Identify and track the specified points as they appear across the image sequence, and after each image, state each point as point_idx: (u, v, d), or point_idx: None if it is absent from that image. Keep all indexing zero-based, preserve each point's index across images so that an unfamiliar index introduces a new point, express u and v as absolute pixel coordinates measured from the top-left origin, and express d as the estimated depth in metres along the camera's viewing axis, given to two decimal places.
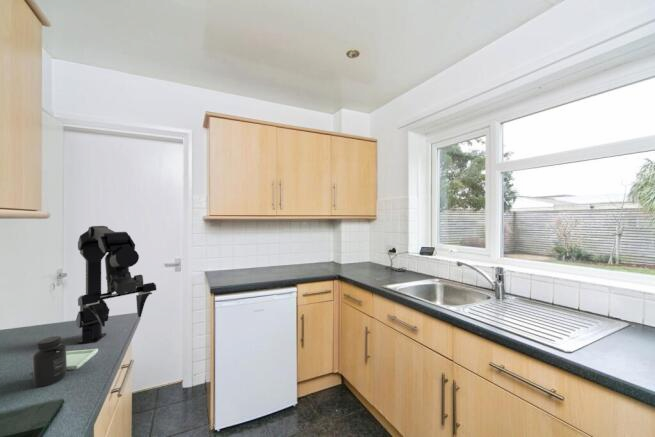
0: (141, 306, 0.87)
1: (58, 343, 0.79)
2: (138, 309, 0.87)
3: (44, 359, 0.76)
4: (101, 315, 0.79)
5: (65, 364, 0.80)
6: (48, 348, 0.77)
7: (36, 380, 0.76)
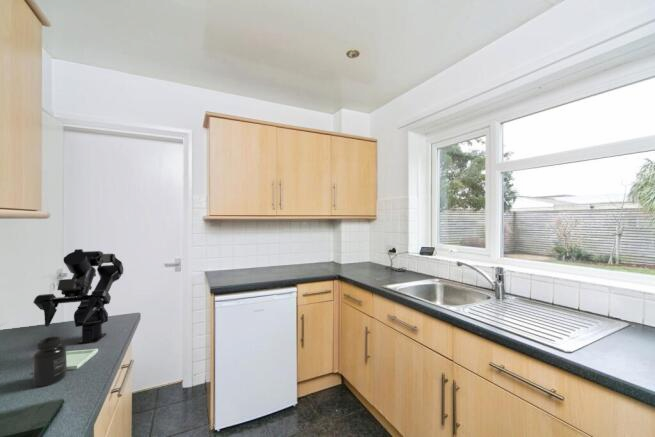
0: (86, 310, 0.89)
1: (58, 343, 0.79)
2: None
3: (44, 359, 0.76)
4: (47, 314, 0.86)
5: (65, 364, 0.80)
6: (48, 348, 0.77)
7: (36, 380, 0.76)
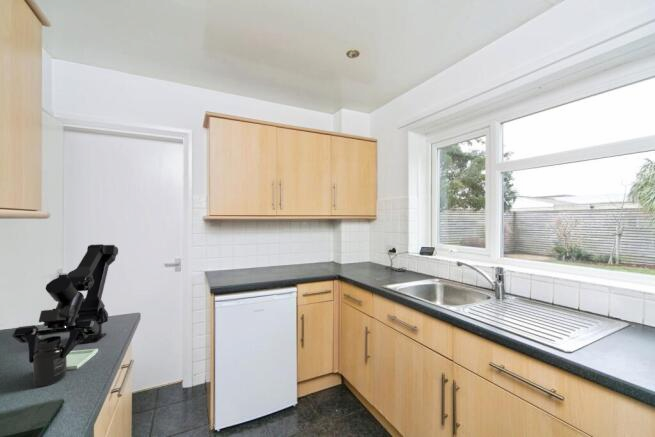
0: (67, 344, 0.80)
1: (58, 343, 0.79)
2: None
3: (44, 359, 0.76)
4: (31, 349, 0.78)
5: (65, 364, 0.80)
6: (48, 348, 0.77)
7: (36, 380, 0.76)
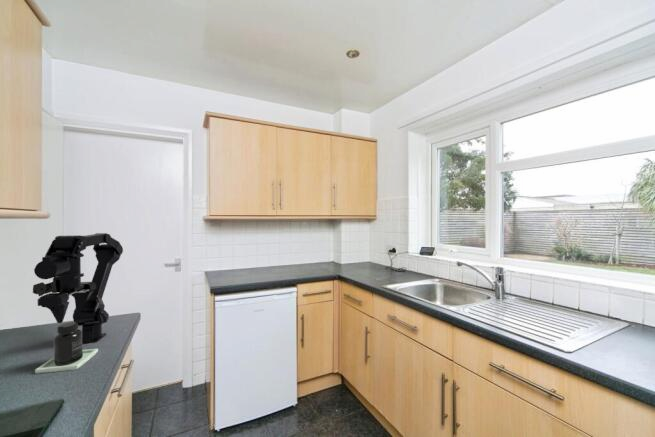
0: None
1: (75, 328, 0.88)
2: None
3: (64, 341, 0.85)
4: None
5: (81, 347, 0.90)
6: (67, 332, 0.86)
7: (57, 360, 0.85)
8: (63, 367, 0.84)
